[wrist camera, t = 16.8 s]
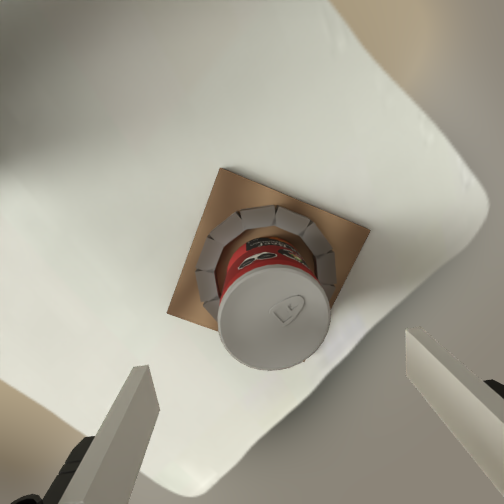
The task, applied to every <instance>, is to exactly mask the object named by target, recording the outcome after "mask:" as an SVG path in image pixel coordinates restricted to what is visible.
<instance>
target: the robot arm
mask: <svg viewBox="0 0 504 504" xmlns="http://www.w3.org/2000/svg"><path fill="white" fill-rule="evenodd" d="M405 332H406V333H405V337H406V338H405V340H406V376H407V377H408V379H409V380H410V381H411V382H412V384H413V385H414V386H415V387H416V389H418V391H419V392H420V394H421V395H422V396H423V397H424V399H425V400H426V401H427V402H428V403H429V405H430V406H431V407H432V408H433V410H434V411H435V412H436V413H437V415H438V416H439V417H440V418H441V419H442V421H443V422H444V423H445V425H446V426H447V427H448V428H449V430H450V431H451V432H452V433H453V435H454V436H455V437H456V438H457V440H458V441H459V442H460V443H461V445H462V446H463V447H464V448H465V450H466V451H467V452H468V453H469V455H470V456H471V457H472V458H473V460H474V461H475V462H476V463H477V465H478V466H479V467H480V468H481V470H482V471H483V472H484V473H485V475H486V476H487V477H488V478H489V480H490V481H491V482H492V483H493V485H494V486H495V487H496V488H497V490H498V491H499V492H500V493H501V494H502V496H503V497H504V385H502V384H500V383H499V382H497V381H495V380H486V381H482V380H481V379H480V378H479V377H478V376H477V375H475V374H474V373H473V372H472V371H471V370H470V369H469V368H467V367H466V366H465V365H464V364H463V363H462V362H460V361H459V360H458V359H457V358H456V357H454V355H452V354H451V353H450V352H449V351H448V350H447V349H446V348H444V347H443V346H442V345H441V344H440V343H439V342H437V341H436V340H435V339H434V338H433V337H432V336H431V335H430V334H428V333H427V332H426V331H425V330H424V329H423V328H422V327H413V328H407V329H405ZM159 411H160V408H159V404H158V400H157V396H156V392H155V388H154V384H153V381H152V377H151V373H150V369H149V365H144V366H137V367H133V369H132V371H131V372H130V374H129V376H128V378H127V380H126V381H125V383H124V385H123V387H122V389H121V390H120V392H119V394H118V396H117V398H116V400H115V401H114V403H113V405H112V407H111V409H110V410H109V412H108V414H107V416H106V418H105V420H104V421H103V423H102V425H101V427H100V429H99V430H98V432H97V434H96V436H91V437H85V438H84V439H83V440H82V441H81V442H80V443H79V444H78V445H77V446H76V447H75V448H74V449H73V450H72V452H71V453H70V455H69V457H68V458H67V460H66V462H65V464H64V465H63V467H62V468H61V470H60V471H59V475H57V477H56V478H55V480H54V481H53V483H52V485H51V486H50V488H49V490H48V491H47V493H46V494H45V496H44V498H43V499H41V498H40V496H39V495H35V494H31V495H26V496H23V497H21V498H19V499H17V500H15V501H13V502H12V503H11V504H128V502H129V499H130V496H131V493H132V490H133V487H134V485H135V481H136V479H137V476H138V473H139V470H140V467H141V464H142V461H143V458H144V455H145V452H146V449H147V446H148V444H149V441H150V438H151V435H152V432H153V429H154V426H155V423H156V420H157V417H158V414H159Z"/></svg>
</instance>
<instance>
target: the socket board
mask: <svg viewBox="0 0 504 504" xmlns="http://www.w3.org/2000/svg"><path fill="white" fill-rule="evenodd" d="M370 231H371V230H369V229H367V228H364V227H362V226H360V225H357V224H355V223H352V222H350V221H348V220H345V219H343V218H340V217H338V216H336V215H333V214H331V213H328V212H326V211H324V210H321V209H319V208H316V207H314V206H312V205H309V204H307V203H304V202H302V201H300V200H297V199H295V198H292V197H290V196H288V195H285V194H283V193H280V192H278V191H276V190H273V189H271V188H268V187H266V186H264V185H261V184H259V183H256V182H254V181H252V180H249V179H247V178H244V177H242V176H240V175H237V174H235V173H232V172H230V171H228V170H225V169H223V168H220V169H219V172H218V174H217V177H216V180H215V183H214V185H213V188H212V191H211V194H210V196H209V199H208V202H207V204H206V207H205V210H204V213H203V215H202V218H201V221H200V223H199V226H198V229H197V232H196V234H195V237H194V240H193V243H192V245H191V248H190V251H189V253H188V256H187V259H186V262H185V264H184V267H183V270H182V272H181V275H180V278H179V281H178V283H177V286H176V289H175V291H174V294H173V297H172V300H171V302H170V305H169V308H168V311H167V314H170V315H173V316H176V317H179V318H181V319H184V320H187V321H190V322H193V323H196V324H198V325H201V326H204V327H207V328H210V329H212V330H215V331H218V318H217V317H218V310H219V304H220V298H221V294H222V289H223V285H224V280H225V276H226V271H227V267H228V264H229V261H230V259H231V258H232V256H233V254H234V253H235V252H236V251H237V250H238V249H239V247H241V246H242V245H243V244H245V243H246V242H248V241H250V240H252V239H256V238H259V237H277V238H280V239H283V240H285V241H287V242H289V243H290V244H291V245H293V246H294V247H295V248H296V249H297V251H298V252H299V253H300V255H301V256H302V258H303V259H304V261H305V262H306V264H307V265H308V267H309V268H310V269H311V271H312V272H313V274H314V275H315V277H316V278H317V280H318V281H319V283H320V284H321V286H322V288H323V289H324V291H325V294H326V296H327V298H328V301H329V306H330V310H331V308H332V306H333V304H334V302H335V300H336V298H337V296H338V294H339V292H340V290H341V288H342V286H343V284H344V282H345V280H346V278H347V276H348V274H349V272H350V270H351V268H352V266H353V264H354V262H355V260H356V258H357V256H358V254H359V252H360V250H361V248H362V246H363V244H364V242H365V240H366V239H367V237H368V235H369V233H370ZM304 361H305V360H304ZM304 361H303V362H304Z"/></svg>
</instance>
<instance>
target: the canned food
mask: <svg viewBox="0 0 504 504" xmlns="http://www.w3.org/2000/svg"><path fill="white" fill-rule="evenodd" d="M330 315H331V311H330V306H329V301H328V298H327V296H326V294H325V291H324V289H323V288H322V286H321V284H320V283H319V281H318V280H317V278H316V277H315V275H314V274H313V272H312V271H311V269H310V268H309V267H308V265H307V264H306V262H305V261H304V259H303V258H302V256H301V255H300V253H299V252H298V251H297V249H296V248H295V247H294V246H293V245H291V244H290V243H289V242H287V241H285V240H283V239H280V238H277V237H259V238H256V239H252V240H250V241H248V242H246V243H245V244H243V245H242V246H241V247H239V249H238V250H237V251H236V252H235V253H234V254H233V256H232V258H231V259H230V261H229V264H228V267H227V271H226V276H225V280H224V285H223V289H222V294H221V298H220V304H219V310H218V317H217V318H218V332H219V335H220V338H221V341H222V343H223V345H224V347H225V348H226V350H227V351H228V352H229V353H230V354H231V356H232V357H234V358H235V359H236V360H238V361H239V362H240V363H242V364H244V365H246V366H248V367H251V368H255V369H258V370H268V371H272V370H282V369H286V368H290V367H292V366H295V365H297V364H299V363H301V362H303V361H304V360H306V359H307V358H309V357H310V356H311V355H312V354H313V353H314V352H315V351H316V350H317V349H318V348H319V347H320V345H321V344H322V342H323V341H324V339H325V337H326V335H327V333H328V329H329V325H330Z"/></svg>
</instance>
